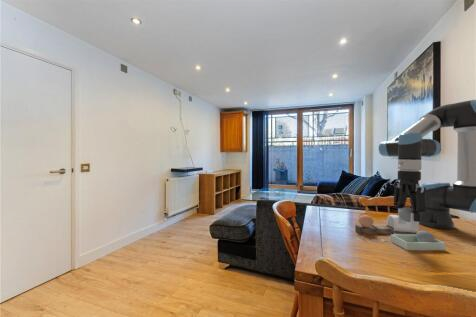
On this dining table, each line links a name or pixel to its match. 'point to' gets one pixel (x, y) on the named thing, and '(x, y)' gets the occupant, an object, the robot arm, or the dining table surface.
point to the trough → (416, 243)
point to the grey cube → (405, 214)
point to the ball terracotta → (366, 221)
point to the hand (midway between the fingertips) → (407, 226)
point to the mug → (393, 222)
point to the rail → (374, 229)
